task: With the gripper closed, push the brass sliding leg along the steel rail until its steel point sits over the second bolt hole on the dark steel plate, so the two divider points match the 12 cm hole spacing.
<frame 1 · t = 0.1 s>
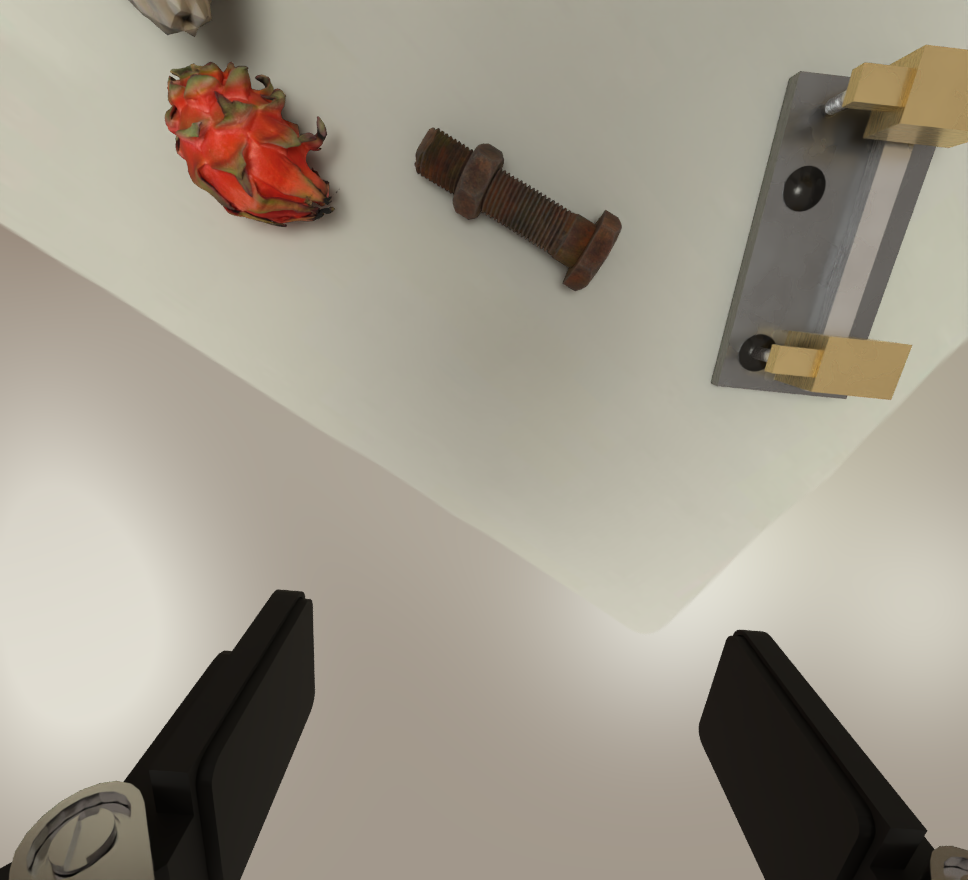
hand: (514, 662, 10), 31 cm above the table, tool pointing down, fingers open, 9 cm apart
sliding leg: (907, 100, 30), point 4 cm above the table, slide at 0.0 cm
bolt: (513, 208, 36), on the table
dragon fruit: (280, 166, 35), on the table
hole plate: (815, 252, 36), on the table
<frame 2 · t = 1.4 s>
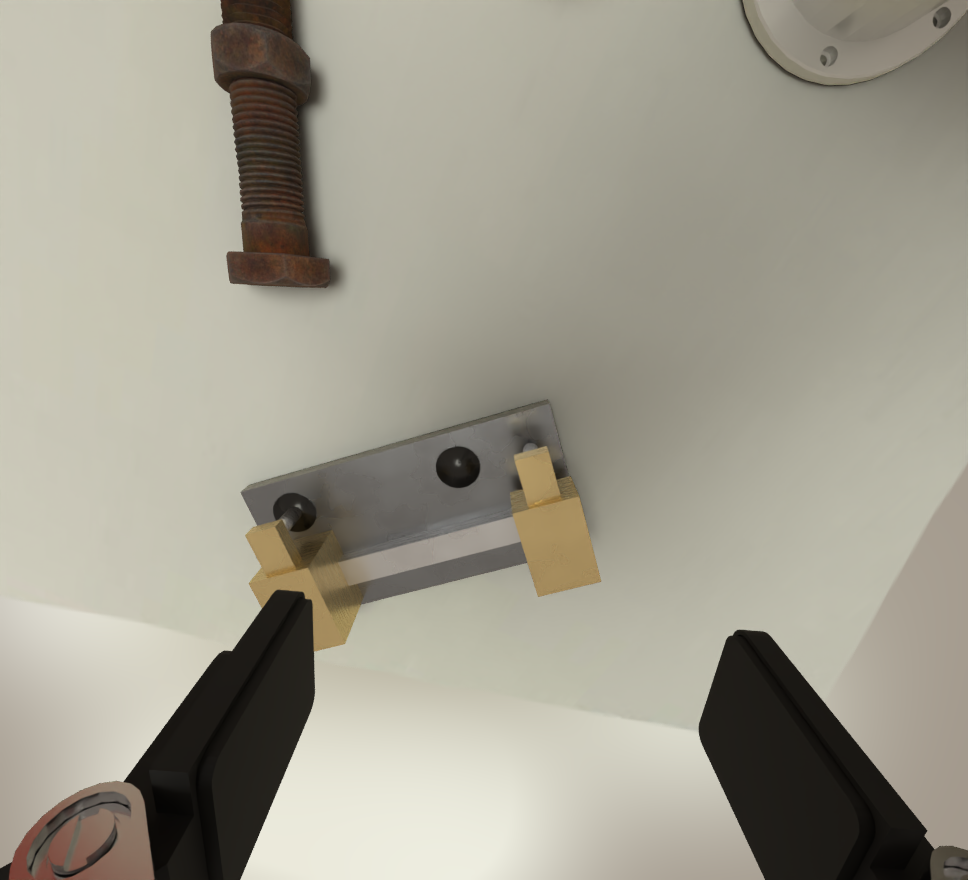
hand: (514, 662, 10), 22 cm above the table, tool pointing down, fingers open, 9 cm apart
sliding leg: (547, 511, 29), point 4 cm above the table, slide at 0.0 cm
bolt: (289, 150, 27), on the table
hole plate: (419, 512, 34), on the table
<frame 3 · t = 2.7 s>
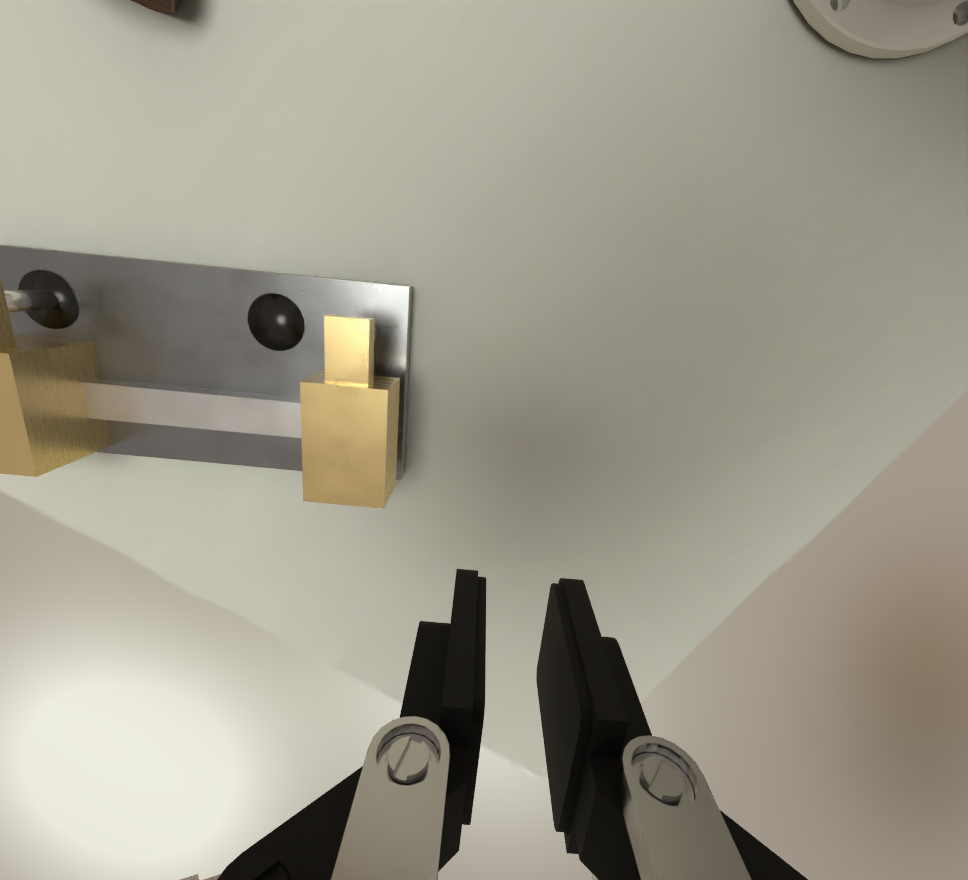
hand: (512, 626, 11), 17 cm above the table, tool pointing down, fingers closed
sliding leg: (356, 406, 23), point 4 cm above the table, slide at 0.0 cm
hole plate: (218, 367, 27), on the table
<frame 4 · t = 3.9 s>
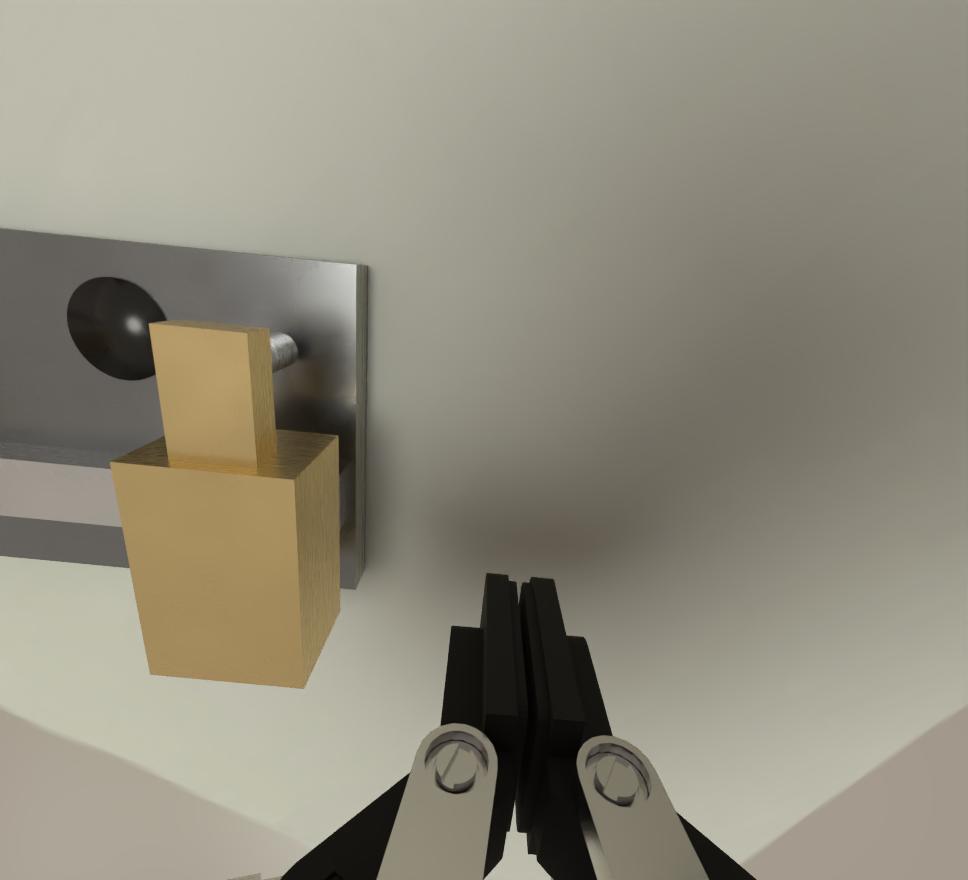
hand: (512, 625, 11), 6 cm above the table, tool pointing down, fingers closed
sliding leg: (253, 491, 12), point 4 cm above the table, slide at 0.0 cm
hole plate: (45, 403, 16), on the table
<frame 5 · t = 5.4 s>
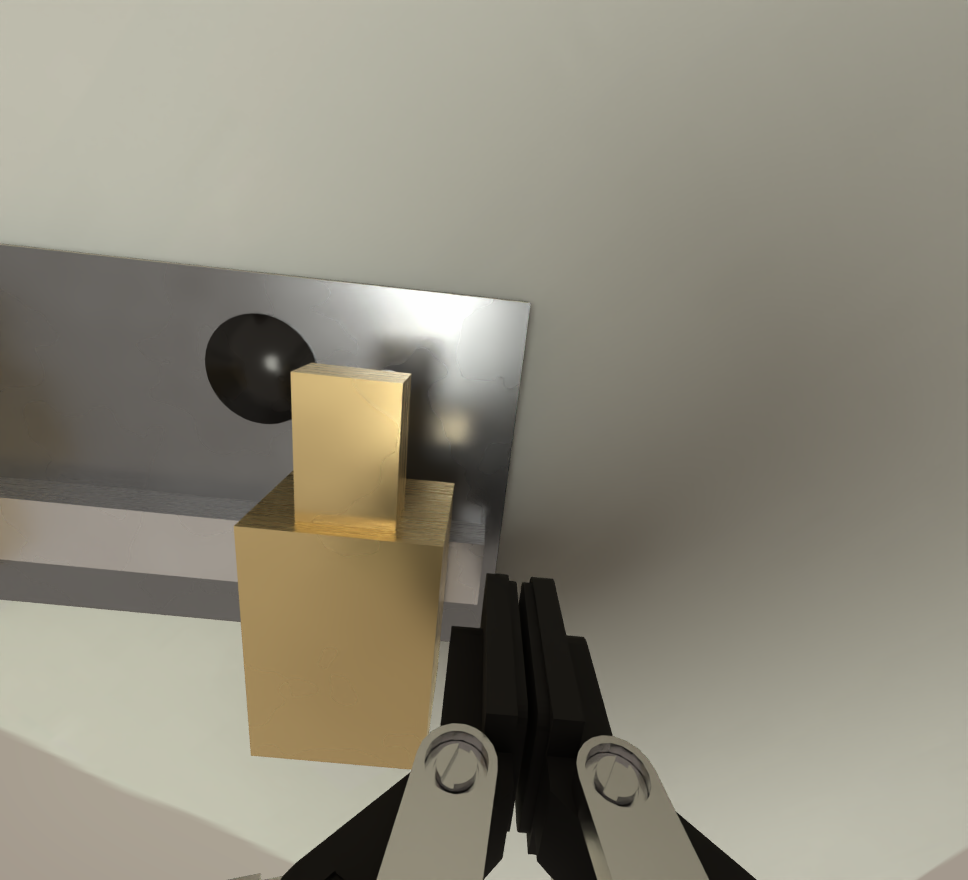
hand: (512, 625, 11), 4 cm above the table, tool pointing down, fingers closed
sliding leg: (364, 547, 11), point 4 cm above the table, slide at 1.5 cm, touching gripper
hole plate: (157, 444, 15), on the table
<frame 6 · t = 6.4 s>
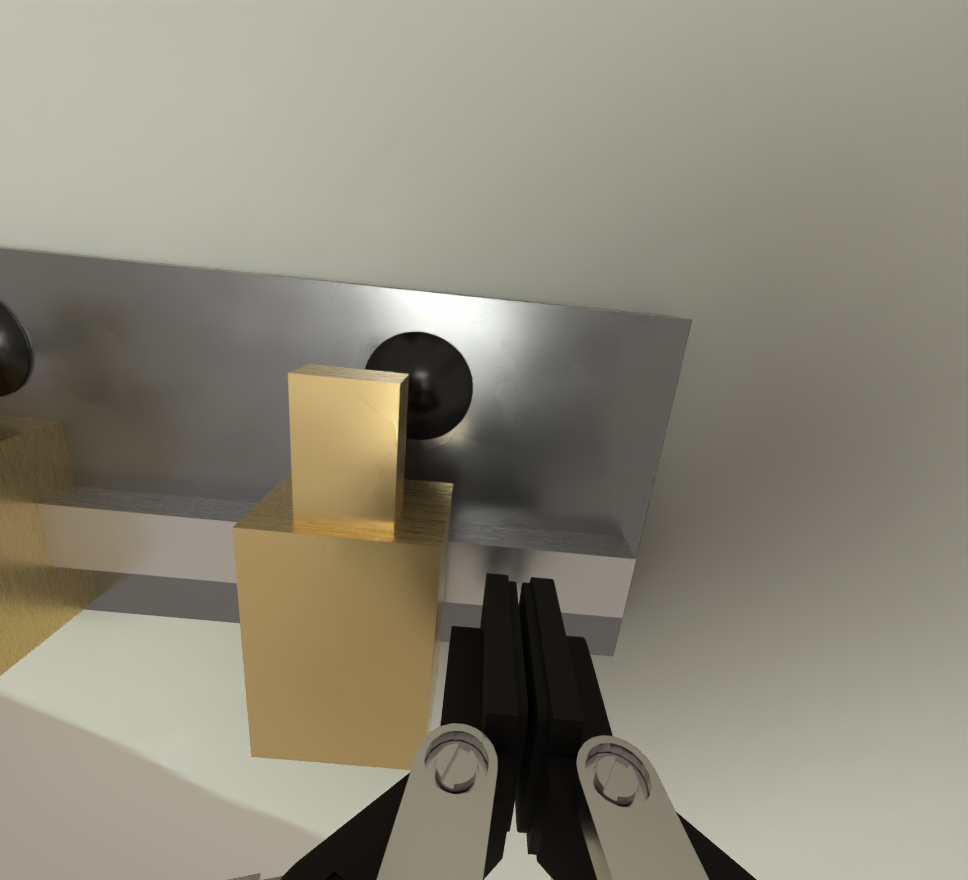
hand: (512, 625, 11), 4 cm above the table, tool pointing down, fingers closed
sliding leg: (363, 547, 11), point 4 cm above the table, slide at 5.8 cm, touching gripper
hole plate: (293, 459, 15), on the table
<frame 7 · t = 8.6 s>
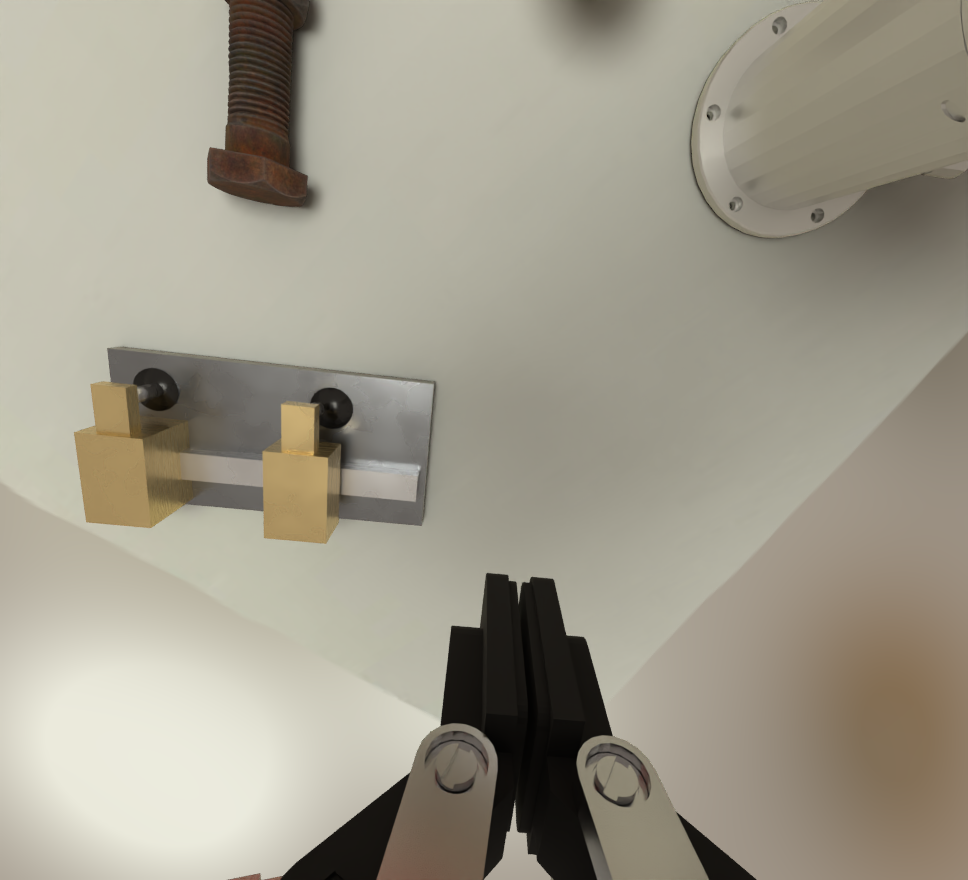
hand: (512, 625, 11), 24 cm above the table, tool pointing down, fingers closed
sliding leg: (306, 466, 31), point 4 cm above the table, slide at 5.8 cm
bolt: (281, 72, 28), on the table
hole plate: (281, 438, 34), on the table
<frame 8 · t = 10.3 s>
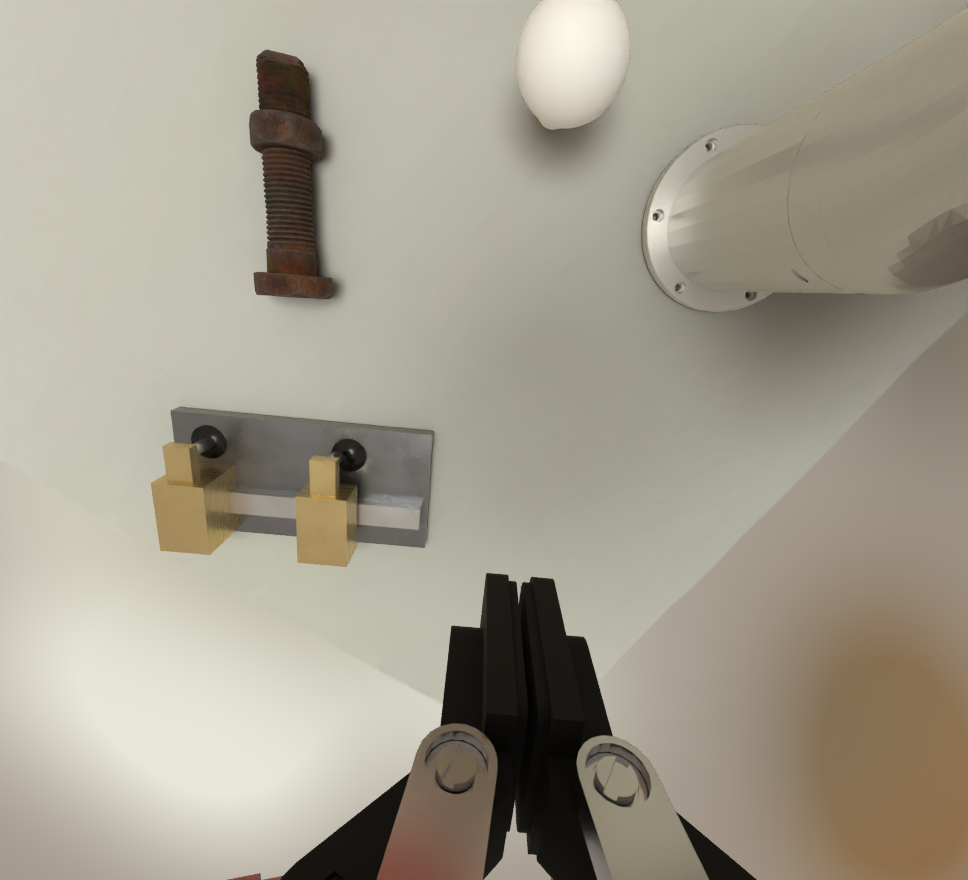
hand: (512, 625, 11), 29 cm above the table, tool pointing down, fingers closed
sliding leg: (329, 504, 38), point 4 cm above the table, slide at 5.8 cm
bolt: (303, 193, 35), on the table
lightbulb: (552, 114, 33), on the table
hole plate: (308, 477, 42), on the table
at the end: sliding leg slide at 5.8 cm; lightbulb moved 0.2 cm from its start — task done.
